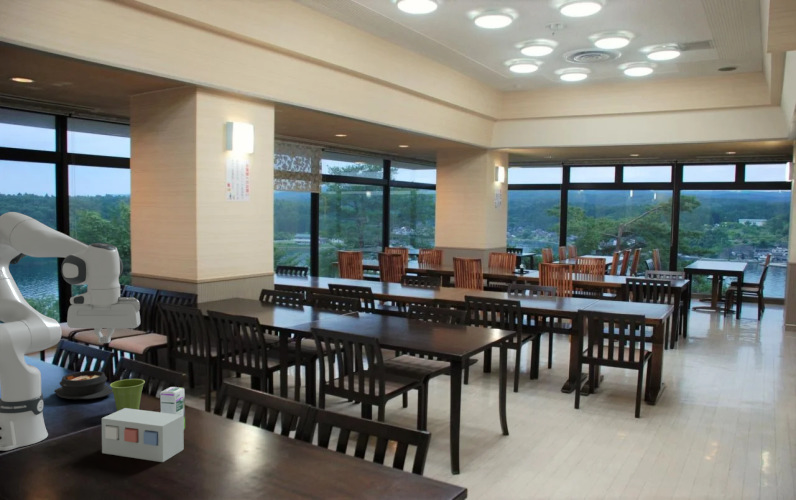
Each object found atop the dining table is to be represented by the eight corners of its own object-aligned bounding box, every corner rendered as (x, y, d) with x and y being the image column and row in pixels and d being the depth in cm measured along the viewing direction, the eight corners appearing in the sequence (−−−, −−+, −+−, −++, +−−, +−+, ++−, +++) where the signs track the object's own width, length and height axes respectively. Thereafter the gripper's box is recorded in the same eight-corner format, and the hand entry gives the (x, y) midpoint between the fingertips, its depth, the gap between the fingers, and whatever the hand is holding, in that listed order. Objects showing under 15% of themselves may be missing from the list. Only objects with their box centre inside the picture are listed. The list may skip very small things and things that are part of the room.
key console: (102, 453, 180) (101, 418, 179) (125, 441, 190) (124, 407, 189) (162, 462, 174) (162, 426, 173) (183, 449, 184) (183, 415, 183)
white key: (105, 438, 178) (105, 426, 178) (112, 434, 181) (112, 423, 181) (116, 439, 177) (116, 428, 177) (123, 436, 180) (123, 425, 180)
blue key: (143, 443, 175) (143, 432, 174) (150, 440, 177) (150, 428, 177) (155, 445, 173) (155, 433, 173) (161, 441, 176) (161, 430, 176)
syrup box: (176, 434, 196) (175, 392, 195) (160, 433, 197) (160, 391, 196) (185, 428, 201) (185, 387, 200) (170, 427, 202) (169, 386, 202)
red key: (124, 440, 176) (124, 429, 176) (131, 437, 179) (131, 426, 179) (135, 442, 175) (135, 431, 175) (142, 438, 178) (142, 427, 178)
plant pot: (150, 407, 222) (150, 378, 222) (137, 418, 210) (137, 387, 210) (119, 407, 222) (118, 378, 221) (104, 418, 210) (103, 387, 209)
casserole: (41, 397, 232) (41, 376, 231) (83, 385, 249) (83, 366, 248) (84, 407, 221) (83, 385, 221) (125, 394, 238) (125, 373, 238)
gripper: (143, 295, 179) (143, 340, 180) (74, 295, 177) (75, 340, 178) (135, 299, 173) (136, 344, 174) (64, 298, 171) (64, 344, 172)
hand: (104, 342), depth 176 cm, fingers closed
